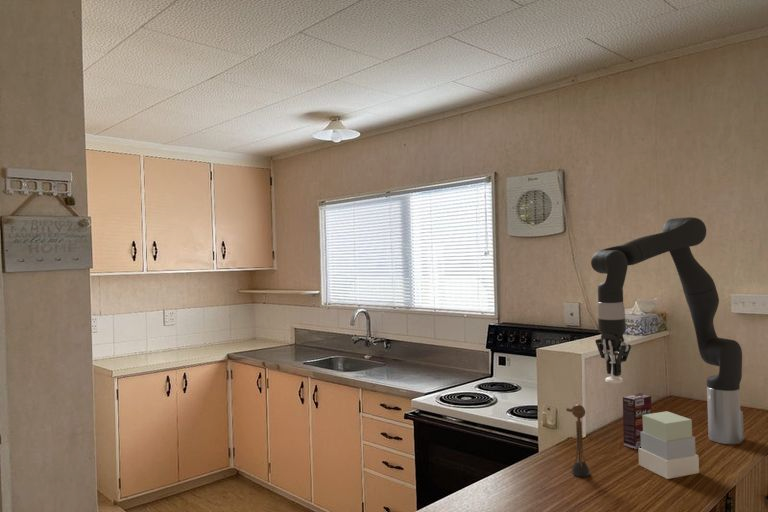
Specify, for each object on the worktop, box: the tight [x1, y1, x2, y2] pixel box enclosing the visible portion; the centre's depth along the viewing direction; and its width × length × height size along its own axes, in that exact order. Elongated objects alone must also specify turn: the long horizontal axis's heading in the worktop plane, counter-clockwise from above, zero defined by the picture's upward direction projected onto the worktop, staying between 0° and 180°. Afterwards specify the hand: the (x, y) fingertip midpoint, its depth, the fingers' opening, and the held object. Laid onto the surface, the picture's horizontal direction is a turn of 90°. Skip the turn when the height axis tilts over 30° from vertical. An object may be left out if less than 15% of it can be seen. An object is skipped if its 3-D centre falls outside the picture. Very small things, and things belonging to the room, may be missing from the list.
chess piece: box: [605, 351, 624, 384], centre depth 170 cm, size 5×5×10 cm
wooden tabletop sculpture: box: [565, 404, 591, 478], centre depth 163 cm, size 6×5×20 cm
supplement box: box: [622, 393, 653, 450], centre depth 184 cm, size 9×5×16 cm, turn 119°
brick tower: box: [637, 410, 700, 480], centre depth 164 cm, size 11×11×15 cm
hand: (613, 374), depth 170 cm, fingers closed on chess piece
